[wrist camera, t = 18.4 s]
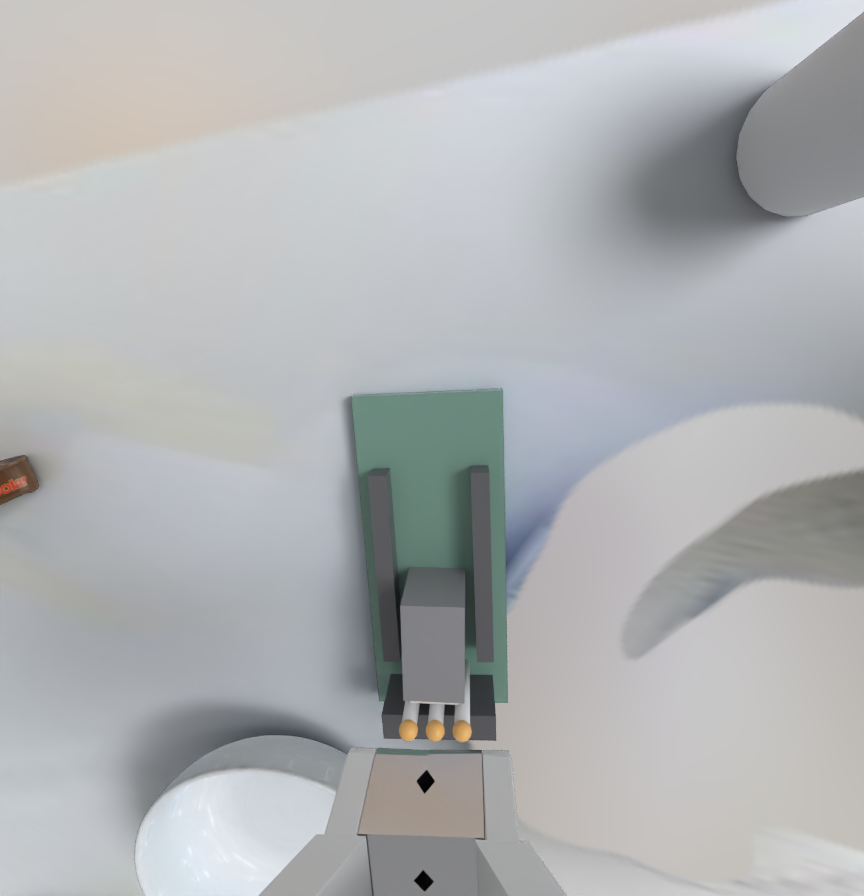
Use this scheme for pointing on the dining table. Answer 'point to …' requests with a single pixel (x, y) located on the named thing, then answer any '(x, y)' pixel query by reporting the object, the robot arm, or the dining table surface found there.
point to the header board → (435, 541)
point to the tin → (16, 478)
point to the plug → (433, 636)
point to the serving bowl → (237, 817)
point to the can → (809, 132)
